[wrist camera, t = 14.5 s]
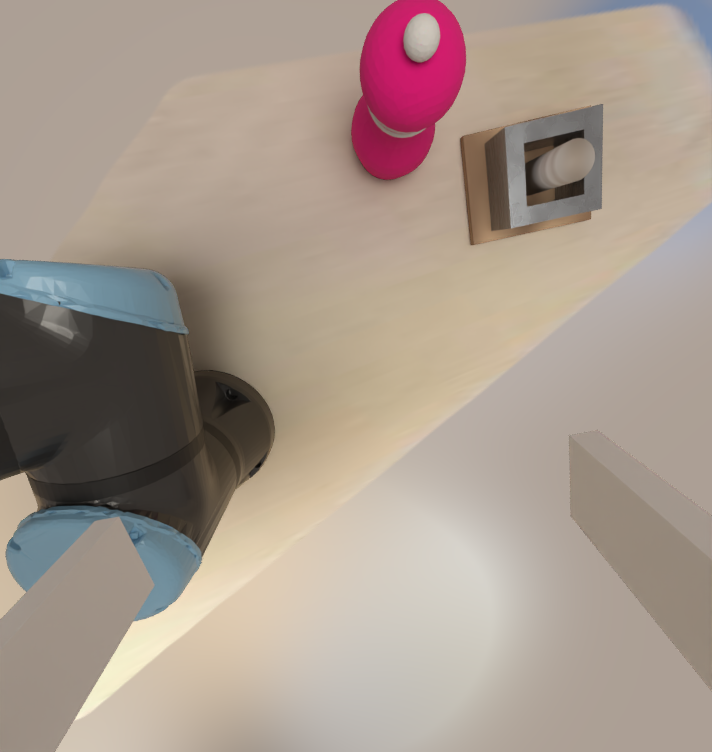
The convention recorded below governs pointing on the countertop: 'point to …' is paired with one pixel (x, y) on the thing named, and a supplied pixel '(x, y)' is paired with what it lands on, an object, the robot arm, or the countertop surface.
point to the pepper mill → (406, 85)
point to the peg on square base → (541, 180)
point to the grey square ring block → (510, 168)
